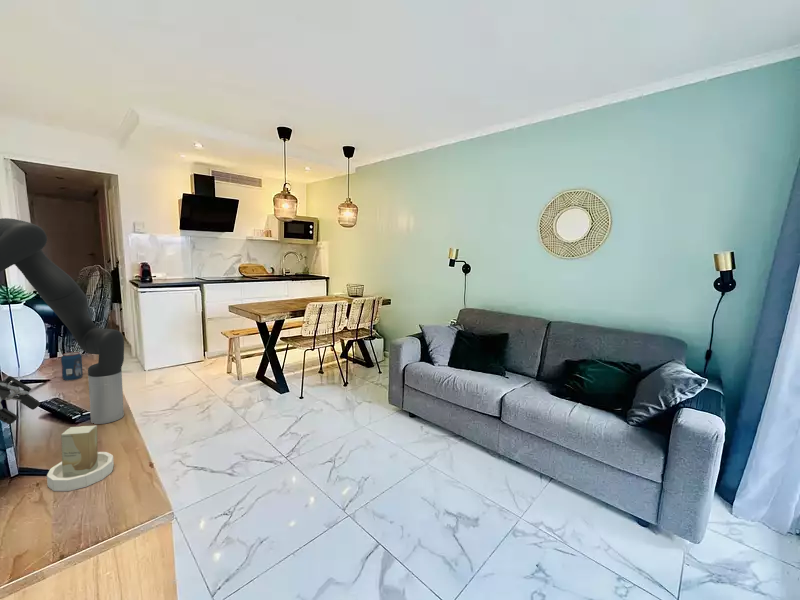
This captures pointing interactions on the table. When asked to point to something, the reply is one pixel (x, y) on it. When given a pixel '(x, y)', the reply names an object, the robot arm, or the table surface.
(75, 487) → the ceramic dish
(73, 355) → the blue carton
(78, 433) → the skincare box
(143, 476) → the table surface
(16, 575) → the table surface
